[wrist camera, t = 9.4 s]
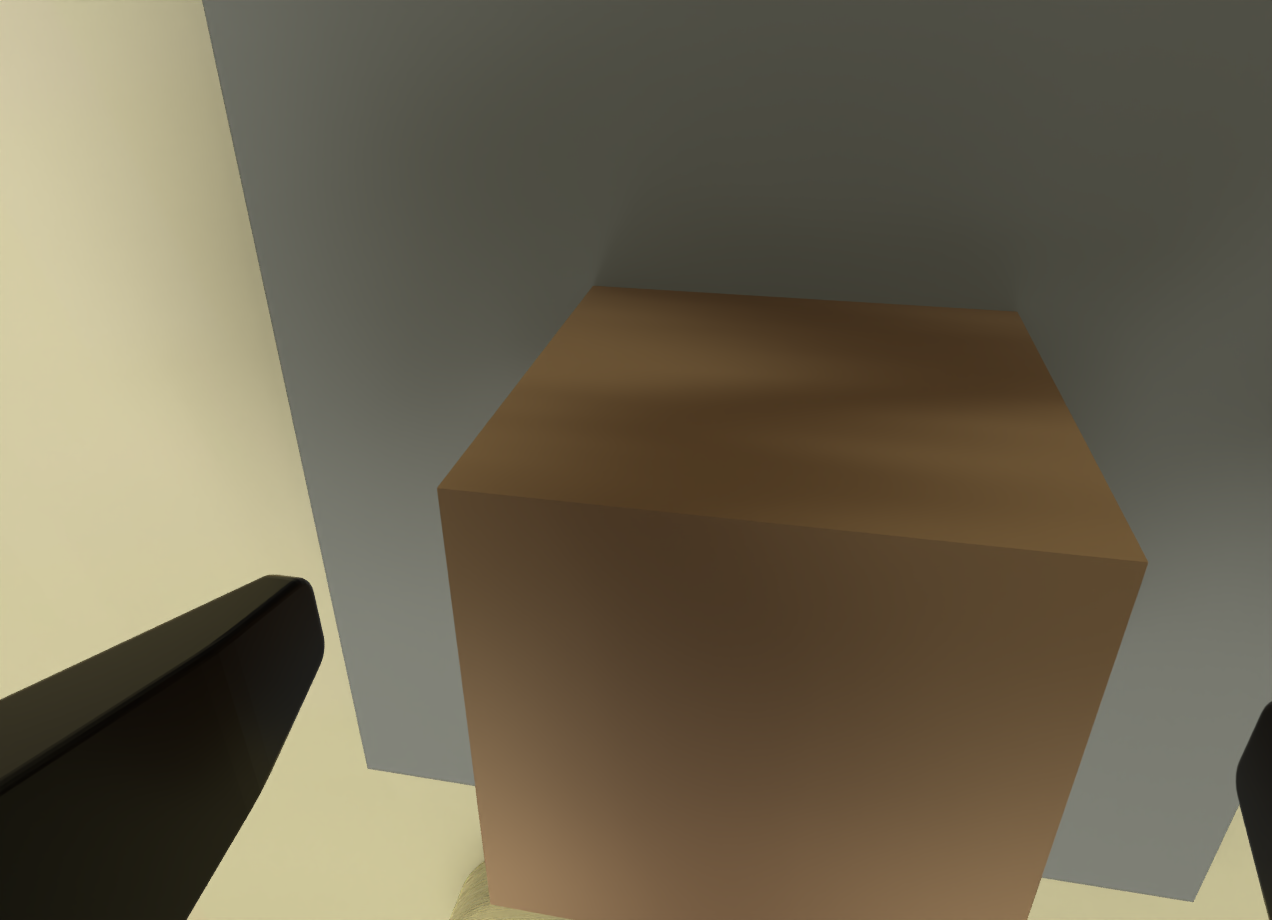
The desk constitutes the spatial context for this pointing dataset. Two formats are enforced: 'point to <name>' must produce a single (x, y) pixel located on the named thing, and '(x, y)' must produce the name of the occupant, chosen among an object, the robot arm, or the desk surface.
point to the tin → (487, 902)
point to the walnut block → (780, 612)
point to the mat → (786, 290)
